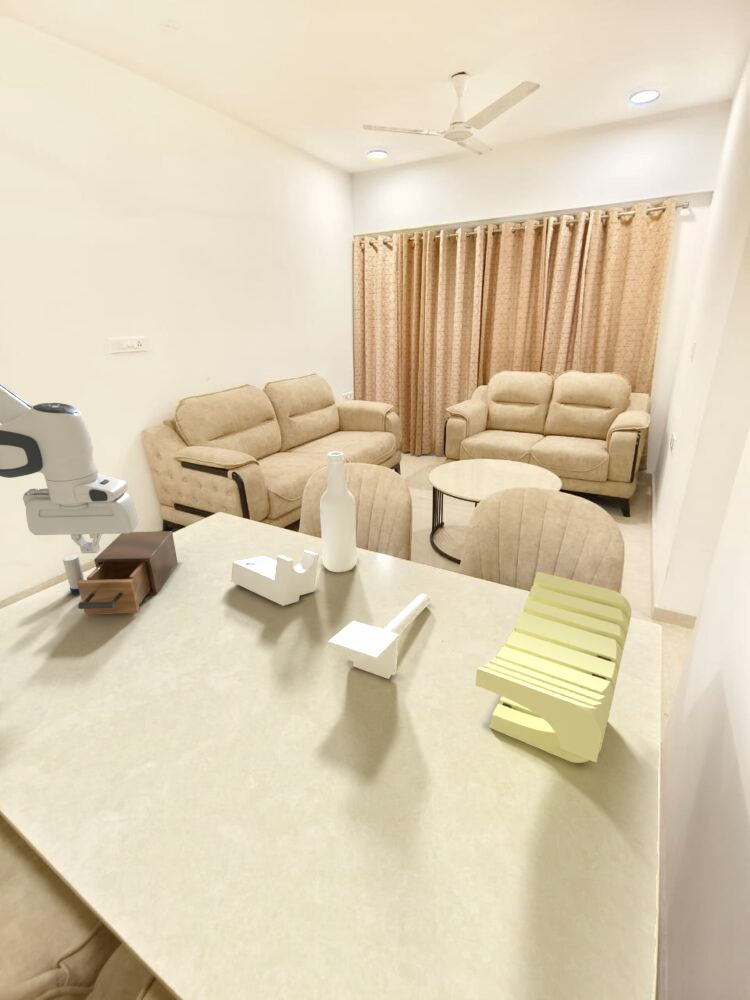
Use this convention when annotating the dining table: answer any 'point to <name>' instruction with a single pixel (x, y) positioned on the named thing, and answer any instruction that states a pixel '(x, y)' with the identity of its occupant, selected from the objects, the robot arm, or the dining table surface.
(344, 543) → the alcohol
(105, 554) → the cabinet
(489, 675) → the slatted curved stool
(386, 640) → the white block on rod
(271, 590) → the white cradle stand
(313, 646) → the dining table surface
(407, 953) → the dining table surface
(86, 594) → the drawer
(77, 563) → the tube
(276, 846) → the dining table surface
